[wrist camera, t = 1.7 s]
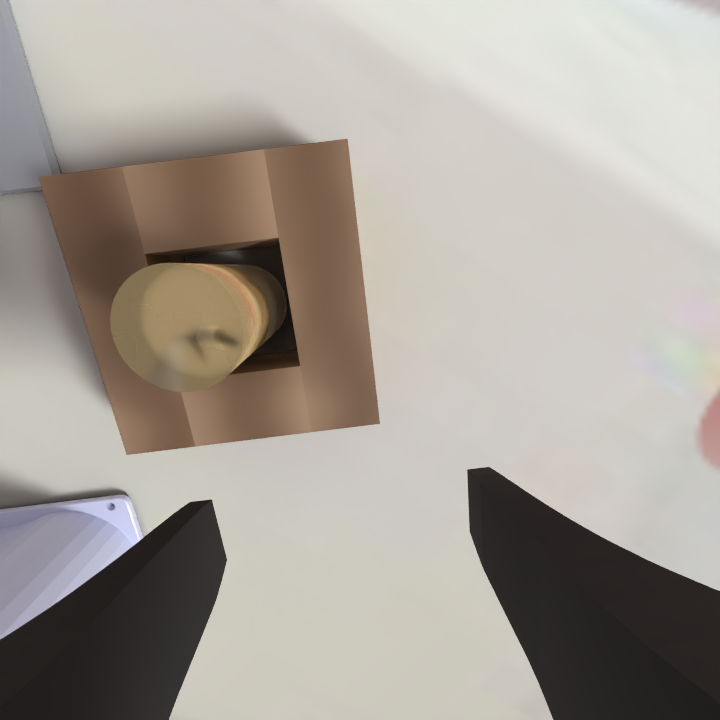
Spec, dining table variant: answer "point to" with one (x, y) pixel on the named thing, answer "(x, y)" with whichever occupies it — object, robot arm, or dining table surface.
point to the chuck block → (218, 234)
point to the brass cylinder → (194, 321)
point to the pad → (20, 117)
